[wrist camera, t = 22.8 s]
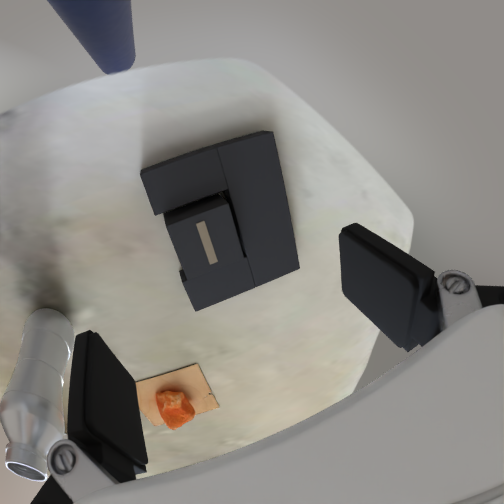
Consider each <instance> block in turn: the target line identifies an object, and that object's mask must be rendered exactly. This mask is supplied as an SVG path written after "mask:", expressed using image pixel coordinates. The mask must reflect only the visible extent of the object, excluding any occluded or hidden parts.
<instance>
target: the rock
mask: <svg viewBox="0 0 504 504" xmlns="http://www.w3.org/2000/svg"><path fill="white" fill-rule="evenodd" d="M136 388H137V396H138V404H139V409H140V410H141V411H142V413H143V414H144V415H145V416H146V417H147V418H148V420H150V422H151V423H152V424H153V425H154V426H158V425H162V424H165V423H166V425H167V426H168V428H170V429H172V430H176V429H177V428H178V427H181V426H182V425H183V424H184V423H186V422H188V421H191V420H192V419H193V418H194V416H195V415H197V414H200V413H204V412H206V411H209V410H213V409H216V408H219V405H218V404H217V402H216V400H215V398H214V396H213V395H210V394H209V392H211V390H210V388H209V386H208V384H207V382H206V380H205V378H204V376H203V374H202V372H201V370H200V368H199V366H198V364H195V365H192V366H189V367H186V368H183V369H180V370H177V371H174V372H171V373H167V374H164V375H161V376H157V377H154V378H150V379H147V380H144V381H140V382H136ZM211 393H212V392H211ZM205 396H207V397H205Z"/></svg>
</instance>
